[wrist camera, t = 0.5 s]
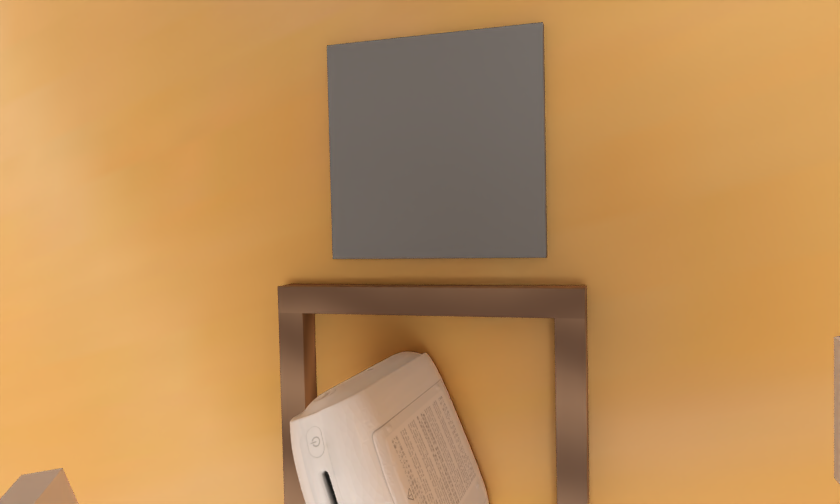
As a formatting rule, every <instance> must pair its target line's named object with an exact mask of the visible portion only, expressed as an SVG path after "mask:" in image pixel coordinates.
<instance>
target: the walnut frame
mask: <svg viewBox="0 0 840 504" xmlns="http://www.w3.org/2000/svg"><path fill="white" fill-rule="evenodd" d="M278 311H279V343H280V375H281V407H282V439H283V471H284V503H285V504H306V503H305V500H304V497H303V493H302V490H301V486H300V482H299V479H298V474H297V471H296V466H295V462H294V457H293V452H292V445H291V435H290V421H291V419H293V418H294V417H296V416H297V415H299V414H301V413H302V412H304V411H305V409H306V408H307V407H308V405H309V404H310V403H311V402H312V401H313V400H314V399H315V398H317V391H316V356H315V321H314V313H315V314H367V315H418V316H470V317H521V318H555V381H556V453H557V504H589V443H588V359H587V286H543V285H361V284H288V285H283V286H278Z"/></svg>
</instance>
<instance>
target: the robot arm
mask: <svg viewBox="0 0 840 504" xmlns="http://www.w3.org/2000/svg"><path fill="white" fill-rule="evenodd" d="M834 478H835V479H836V481H837V482H838V483H839V484H840V336H837V337H834ZM0 504H78V502H77V499H76V497H75V495H74V493H73V490H72V488H71V486H70V484H69V481H68V479H67V477H66V475H65V472H64V470H63V468H60V469H54V470H48V471H43V472H37V473H31V474H25V475H21V476H20V477H19V478H18V479H17V481H16V482H15V483H14V484H13V485H12V486H11V487H10V489H9V490H8V491H7V492H6V493H5V494H4V495H3V496H2V498H1V499H0Z"/></svg>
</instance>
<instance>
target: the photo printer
mask: <svg viewBox="0 0 840 504" xmlns="http://www.w3.org/2000/svg"><path fill="white" fill-rule="evenodd" d="M290 435H291V445H292V452H293V457H294V462H295V466H296V471H297V474H298V479H299V482H300V486H301V490H302V493H303V497H304V500H305V503H306V504H489V500H488V495H487V491H486V488H485V485H484V482H483V479H482V476H481V474H480V471H479V468H478V465H477V463H476V460H475V458H474V455H473V452H472V450H471V447H470V445H469V442H468V440H467V437H466V435H465V433H464V430H463V428H462V425H461V423H460V420H459V418H458V415H457V413H456V411H455V408H454V406H453V403H452V401H451V399H450V396H449V393H448V391H447V389H446V387H445V385H444V382H443V380H442V378H441V376H440V374H439V372H438V370H437V368H436V366H435V364H434V363H433V361H432V359H431V358H430V356H429V355H428V354H427V353H423V354H420V353H417V352H411V351H406V352H400V353H397V354H394V355H392V356H390V357H389V358H387V359H385V360H383V361H381V362H379V363H377V364H375V365H374V366H372V367H370V368H368V369H366V370H364V371H362V372H361V373H359V374H357V375H355V376H353V377H351V378H349V379H348V380H346V381H344V382H342V383H340V384H338V385H336V386H335V387H333V388H331V389H329V390H327V391H326V392H324V393H322V394H321V395H319V396H318V397H317V398H315V399H314V400H313V401H312V402H311V403H310V404H309V405H308V407H307V408H306V409H305V411H304V412H302V413H301V414H299V415H297V416H296V417H294V418H293V419H291V421H290Z"/></svg>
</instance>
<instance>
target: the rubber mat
mask: <svg viewBox="0 0 840 504" xmlns="http://www.w3.org/2000/svg"><path fill="white" fill-rule="evenodd" d="M327 69H328V105H329V141H330V177H331V213H332V250H333V259H394V258H546V257H547V220H546V150H545V80H544V25H543V22H541V23H531V24H522V25H513V26H504V27H494V28H485V29H476V30H466V31H457V32H448V33H439V34H429V35H420V36H411V37H401V38H392V39H383V40H374V41H364V42H355V43H346V44H336V45H327Z"/></svg>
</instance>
